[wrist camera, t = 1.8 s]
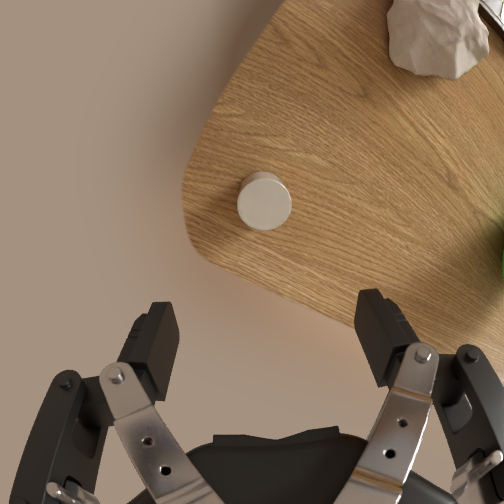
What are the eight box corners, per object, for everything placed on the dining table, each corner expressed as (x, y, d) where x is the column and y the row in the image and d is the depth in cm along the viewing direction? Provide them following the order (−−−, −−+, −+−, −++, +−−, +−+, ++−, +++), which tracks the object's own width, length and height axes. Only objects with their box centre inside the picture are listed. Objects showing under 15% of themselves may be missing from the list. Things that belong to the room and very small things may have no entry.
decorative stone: (415, -43, 12) (348, 38, 19) (427, -57, 9) (356, 26, 15) (494, 27, 13) (440, 114, 20) (513, 21, 10) (459, 115, 17)
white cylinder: (230, 205, 24) (228, 217, 21) (251, 163, 22) (251, 169, 20) (272, 224, 25) (275, 239, 22) (295, 184, 23) (301, 193, 21)
